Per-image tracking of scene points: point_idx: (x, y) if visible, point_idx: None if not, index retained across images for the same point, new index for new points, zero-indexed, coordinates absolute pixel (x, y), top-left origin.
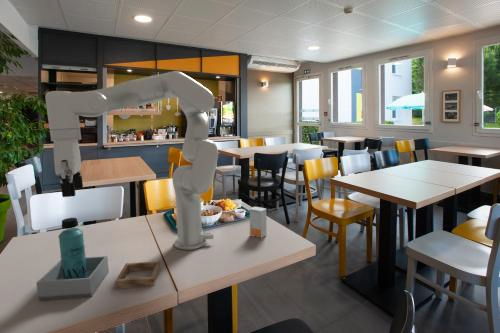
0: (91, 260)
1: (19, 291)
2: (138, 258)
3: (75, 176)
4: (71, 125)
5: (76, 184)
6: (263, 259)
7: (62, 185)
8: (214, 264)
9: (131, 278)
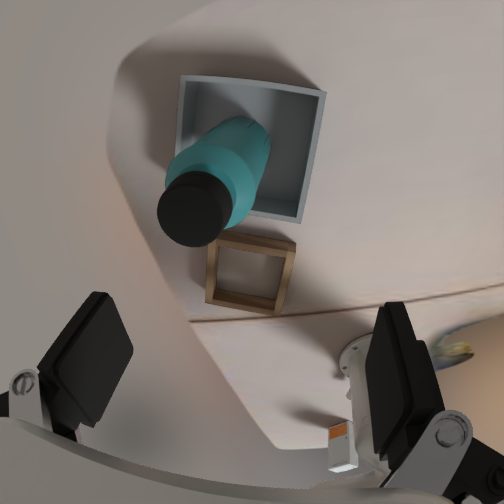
0: (303, 178)
1: (257, 10)
2: (351, 264)
3: (393, 438)
4: None
5: (377, 367)
6: (257, 415)
7: (52, 361)
8: (262, 374)
9: (213, 267)
